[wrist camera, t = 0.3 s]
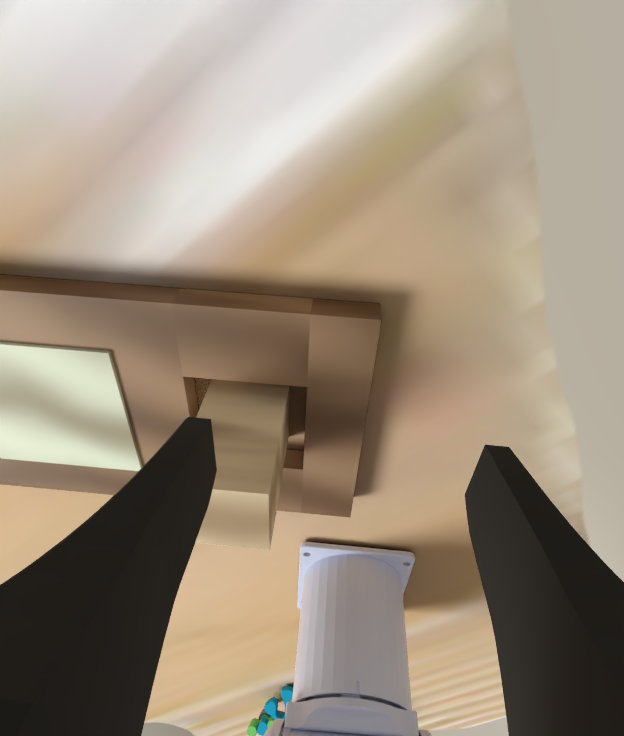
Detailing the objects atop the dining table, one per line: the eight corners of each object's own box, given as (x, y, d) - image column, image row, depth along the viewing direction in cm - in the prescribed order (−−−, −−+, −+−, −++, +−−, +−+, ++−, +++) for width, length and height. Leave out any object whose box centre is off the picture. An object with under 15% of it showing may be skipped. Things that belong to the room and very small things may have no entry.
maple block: (288, 436, 26) (269, 550, 20) (219, 430, 26) (181, 541, 20) (289, 382, 23) (268, 494, 18) (213, 375, 23) (168, 484, 18)
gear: (355, 703, 46) (344, 811, 45) (360, 673, 52) (350, 768, 51) (252, 678, 48) (239, 780, 47) (268, 651, 54) (256, 742, 53)
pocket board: (350, 498, 29) (350, 520, 27) (12, 466, 29) (-3, 486, 28) (380, 303, 20) (381, 322, 19) (-96, 267, 21) (-126, 282, 20)
